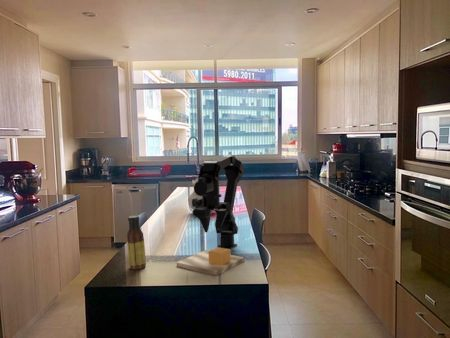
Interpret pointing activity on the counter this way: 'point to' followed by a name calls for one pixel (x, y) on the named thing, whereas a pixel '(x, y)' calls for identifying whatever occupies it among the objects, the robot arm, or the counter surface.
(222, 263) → the amber foam cube
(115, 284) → the counter surface
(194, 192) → the ceramic pitcher
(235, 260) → the birch board
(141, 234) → the sauce bottle
